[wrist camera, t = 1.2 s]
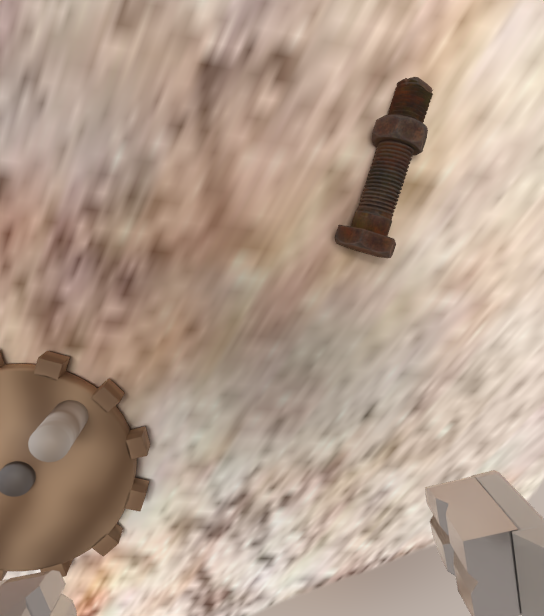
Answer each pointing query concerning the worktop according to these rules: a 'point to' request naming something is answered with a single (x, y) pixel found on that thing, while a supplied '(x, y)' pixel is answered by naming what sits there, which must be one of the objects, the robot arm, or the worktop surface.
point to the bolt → (388, 169)
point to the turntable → (62, 466)
